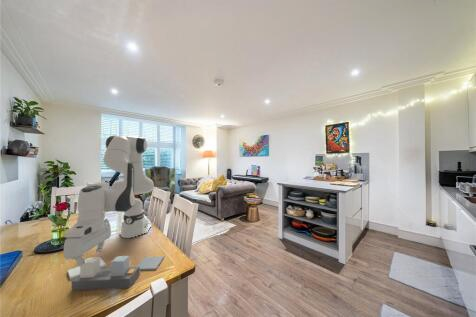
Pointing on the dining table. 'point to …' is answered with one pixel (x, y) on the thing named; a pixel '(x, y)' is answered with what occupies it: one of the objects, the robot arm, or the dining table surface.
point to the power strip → (106, 280)
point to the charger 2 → (120, 266)
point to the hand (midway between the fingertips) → (90, 258)
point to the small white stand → (103, 184)
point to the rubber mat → (150, 263)
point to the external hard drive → (76, 271)
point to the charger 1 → (90, 267)
